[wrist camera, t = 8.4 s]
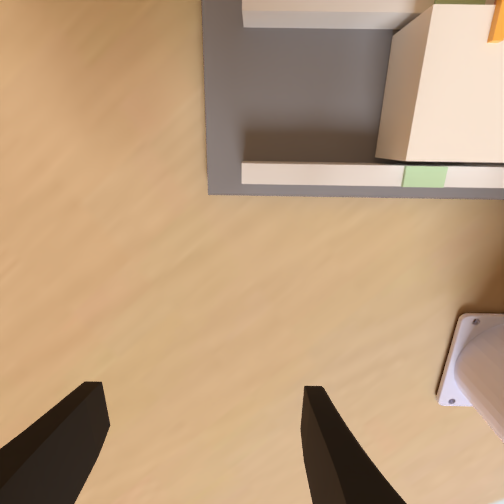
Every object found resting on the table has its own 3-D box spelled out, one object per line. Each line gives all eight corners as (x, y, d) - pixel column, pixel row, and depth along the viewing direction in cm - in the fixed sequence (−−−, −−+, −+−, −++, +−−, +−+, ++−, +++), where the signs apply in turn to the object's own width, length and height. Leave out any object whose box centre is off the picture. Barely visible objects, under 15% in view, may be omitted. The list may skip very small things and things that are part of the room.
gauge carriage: (565, 2, 14) (673, -47, 10) (518, 159, 17) (593, 164, 13) (397, 0, 14) (447, -49, 11) (374, 157, 17) (408, 161, 13)
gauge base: (647, -5, 15) (836, -76, 10) (572, 197, 18) (686, 217, 14) (204, -10, 15) (180, -83, 10) (211, 191, 19) (195, 209, 14)
